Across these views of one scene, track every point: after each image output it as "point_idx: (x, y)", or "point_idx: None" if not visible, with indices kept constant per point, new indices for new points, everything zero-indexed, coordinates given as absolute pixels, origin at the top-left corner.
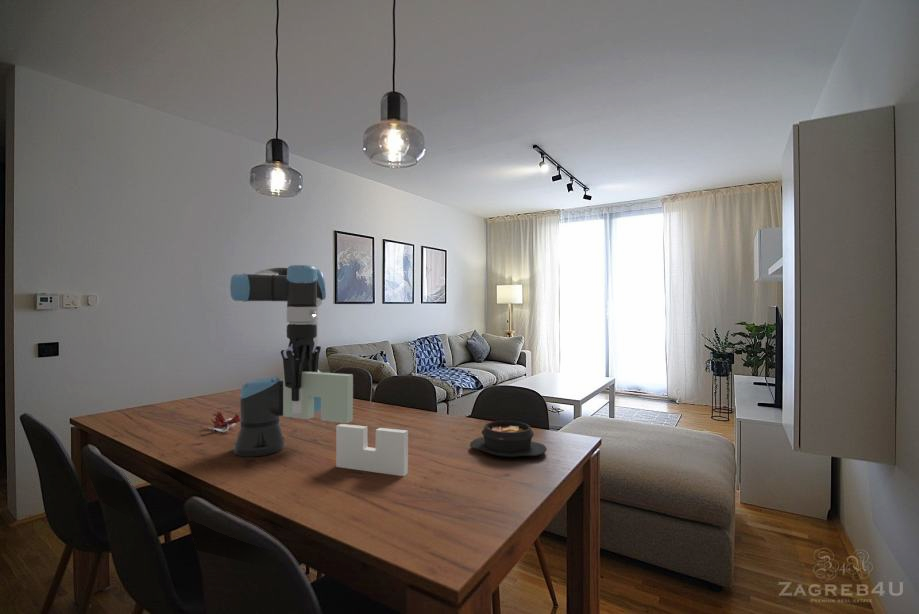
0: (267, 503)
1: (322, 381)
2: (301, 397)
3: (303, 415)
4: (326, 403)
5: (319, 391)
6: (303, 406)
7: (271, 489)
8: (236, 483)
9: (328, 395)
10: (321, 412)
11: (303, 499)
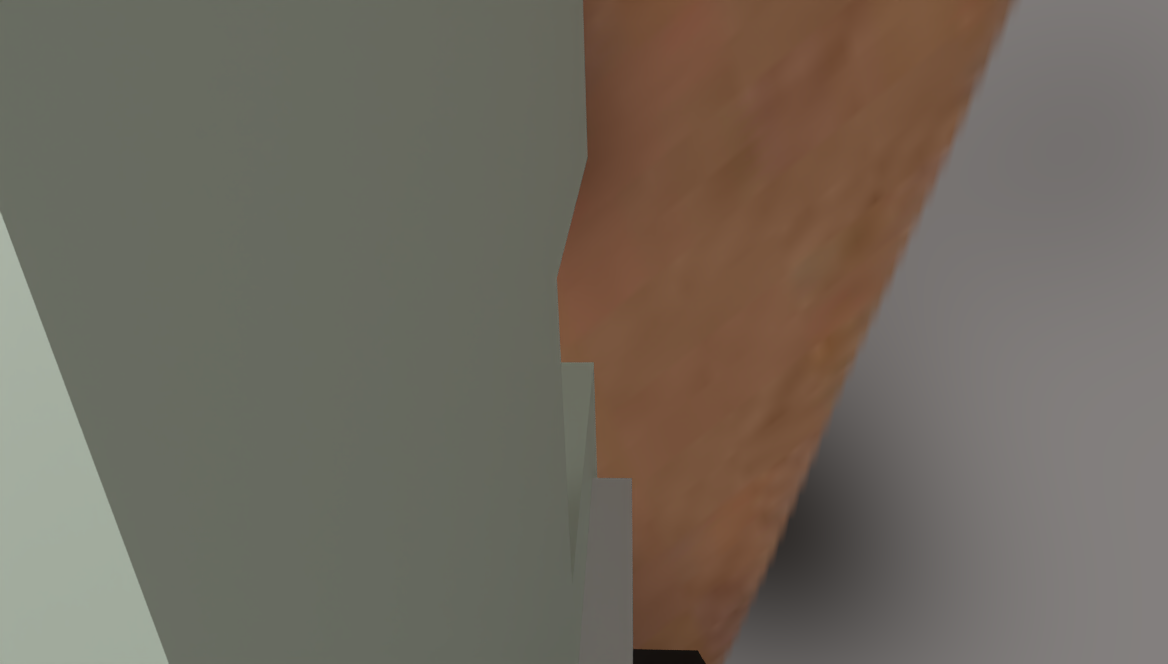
0: (884, 225)
1: (478, 500)
2: (616, 662)
3: (594, 447)
4: (558, 85)
5: (546, 390)
6: (588, 527)
7: (720, 331)
8: (709, 533)
9: (531, 34)
10: (581, 172)
11: (789, 57)
